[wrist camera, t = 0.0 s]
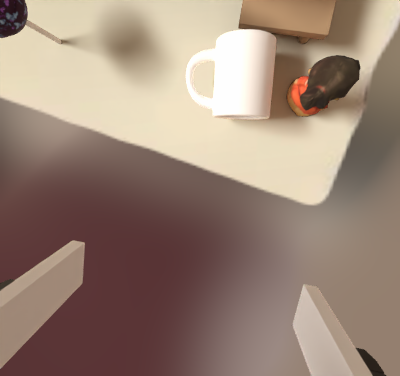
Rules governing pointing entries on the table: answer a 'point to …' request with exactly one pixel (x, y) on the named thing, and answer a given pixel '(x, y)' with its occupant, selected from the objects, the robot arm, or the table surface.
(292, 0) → the tan legged square part
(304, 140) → the table surface
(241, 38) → the mug
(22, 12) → the lollipop
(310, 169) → the table surface
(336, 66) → the figurine
